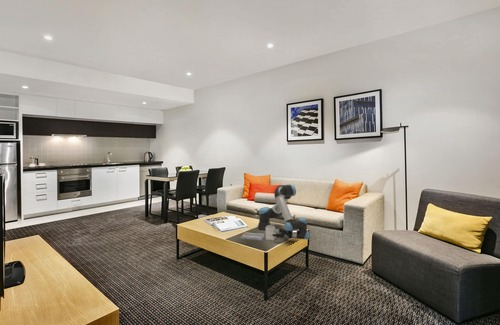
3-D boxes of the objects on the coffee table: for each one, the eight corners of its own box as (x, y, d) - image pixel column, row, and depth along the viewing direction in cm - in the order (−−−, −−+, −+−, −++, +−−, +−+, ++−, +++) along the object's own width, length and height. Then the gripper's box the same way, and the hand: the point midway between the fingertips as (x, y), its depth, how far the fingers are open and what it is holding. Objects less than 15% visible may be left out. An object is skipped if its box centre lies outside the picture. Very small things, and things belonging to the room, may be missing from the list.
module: (267, 237, 260) (267, 225, 260) (274, 238, 258) (274, 225, 257) (265, 239, 254) (265, 226, 254) (273, 240, 252) (273, 227, 251)
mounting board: (245, 234, 273) (245, 231, 272) (265, 235, 266) (265, 233, 266) (240, 238, 257) (240, 236, 257) (261, 240, 251) (261, 238, 250)
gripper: (290, 242, 237) (268, 240, 243) (294, 234, 261) (273, 232, 267) (290, 234, 237) (268, 232, 243) (294, 226, 260) (273, 225, 267)
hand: (271, 232), depth 255 cm, fingers open, 13 cm apart
